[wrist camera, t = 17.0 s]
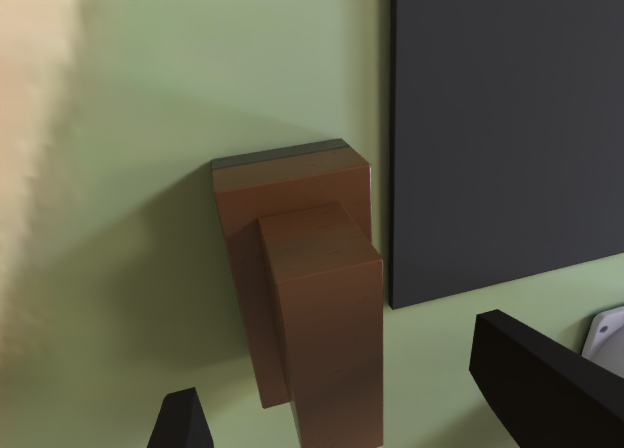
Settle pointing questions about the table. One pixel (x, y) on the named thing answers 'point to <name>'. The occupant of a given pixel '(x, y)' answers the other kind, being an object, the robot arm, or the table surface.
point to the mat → (503, 141)
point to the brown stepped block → (308, 285)
